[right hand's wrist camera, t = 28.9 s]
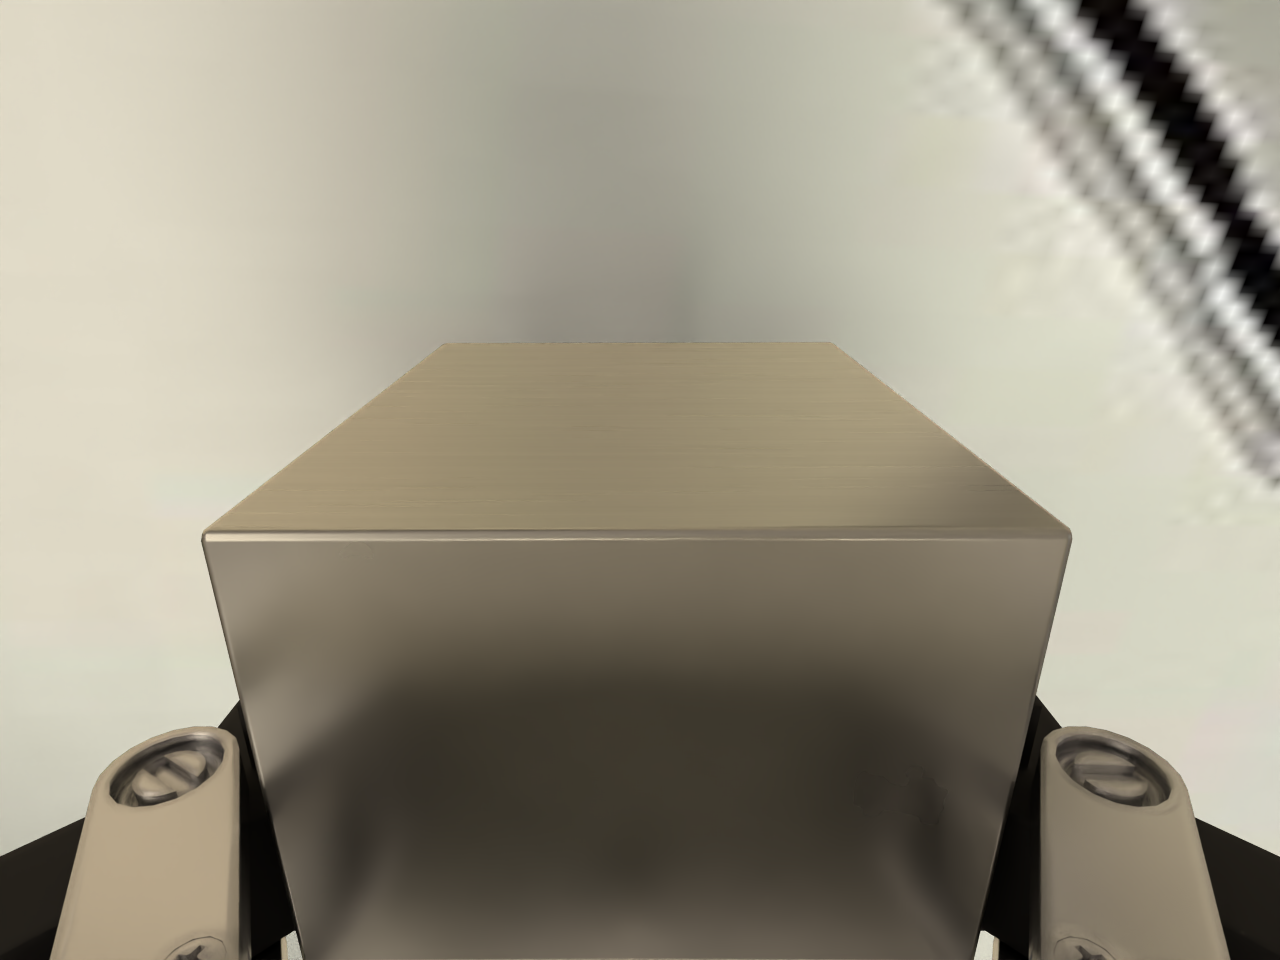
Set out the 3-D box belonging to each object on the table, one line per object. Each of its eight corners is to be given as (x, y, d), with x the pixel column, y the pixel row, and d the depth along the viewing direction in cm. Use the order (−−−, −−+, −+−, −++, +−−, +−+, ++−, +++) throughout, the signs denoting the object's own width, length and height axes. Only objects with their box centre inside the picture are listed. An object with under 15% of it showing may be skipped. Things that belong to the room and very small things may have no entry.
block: (479, 720, 16) (347, 1160, 9) (442, 342, 13) (193, 531, 6) (798, 719, 16) (930, 1158, 9) (833, 341, 13) (1080, 529, 6)
